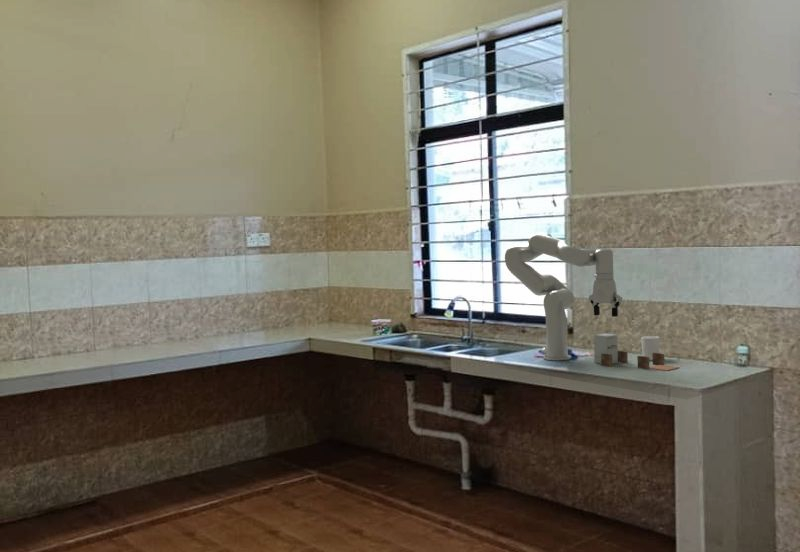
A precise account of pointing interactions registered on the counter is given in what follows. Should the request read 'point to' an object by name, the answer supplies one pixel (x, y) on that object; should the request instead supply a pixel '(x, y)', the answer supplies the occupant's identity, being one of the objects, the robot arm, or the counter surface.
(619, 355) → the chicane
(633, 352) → the counter surface
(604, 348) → the supplement box
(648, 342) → the white cup
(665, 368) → the mat
